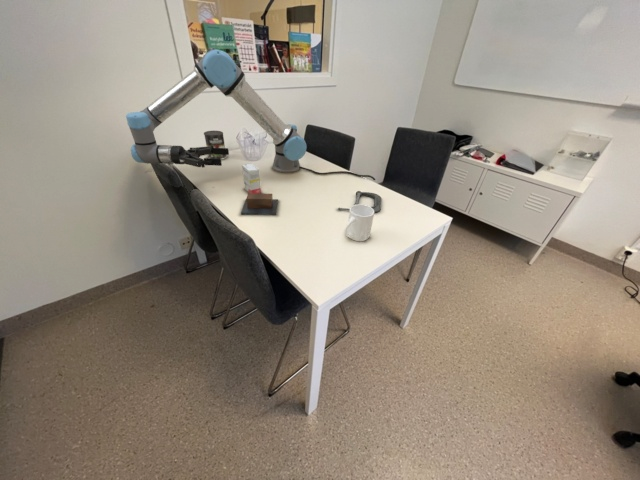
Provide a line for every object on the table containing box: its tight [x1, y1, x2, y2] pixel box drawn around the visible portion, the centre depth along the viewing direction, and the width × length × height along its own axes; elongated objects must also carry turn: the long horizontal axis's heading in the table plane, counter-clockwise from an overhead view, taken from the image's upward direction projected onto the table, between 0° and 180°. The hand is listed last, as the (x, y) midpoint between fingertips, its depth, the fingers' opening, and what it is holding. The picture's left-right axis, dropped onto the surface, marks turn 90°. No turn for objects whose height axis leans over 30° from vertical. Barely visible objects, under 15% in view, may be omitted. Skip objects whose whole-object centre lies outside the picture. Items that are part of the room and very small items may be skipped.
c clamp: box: [337, 190, 382, 214], centre depth 118 cm, size 20×17×3 cm
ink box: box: [241, 163, 262, 193], centre depth 119 cm, size 9×5×12 cm, turn 35°
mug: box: [345, 203, 375, 242], centre depth 94 cm, size 9×12×11 cm
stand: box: [240, 192, 279, 216], centre depth 109 cm, size 14×12×6 cm
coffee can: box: [203, 130, 228, 161], centre depth 153 cm, size 10×10×14 cm
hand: (225, 156), depth 113 cm, fingers open, 13 cm apart
